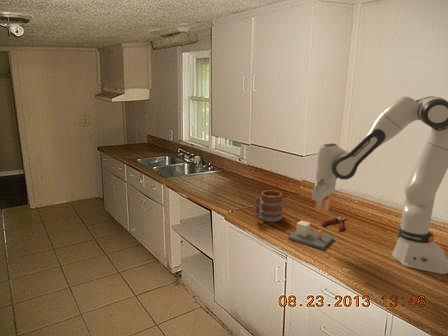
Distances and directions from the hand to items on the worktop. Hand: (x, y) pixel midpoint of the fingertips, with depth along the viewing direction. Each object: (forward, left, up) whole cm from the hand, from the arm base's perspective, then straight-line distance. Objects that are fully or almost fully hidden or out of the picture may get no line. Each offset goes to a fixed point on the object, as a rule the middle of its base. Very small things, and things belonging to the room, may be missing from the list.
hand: (322, 204), depth 162 cm
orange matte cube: (0, 0, -2) cm, 2 cm away
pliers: (-1, -28, -20) cm, 34 cm away
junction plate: (+4, 0, -20) cm, 20 cm away
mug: (+35, -10, -20) cm, 42 cm away
